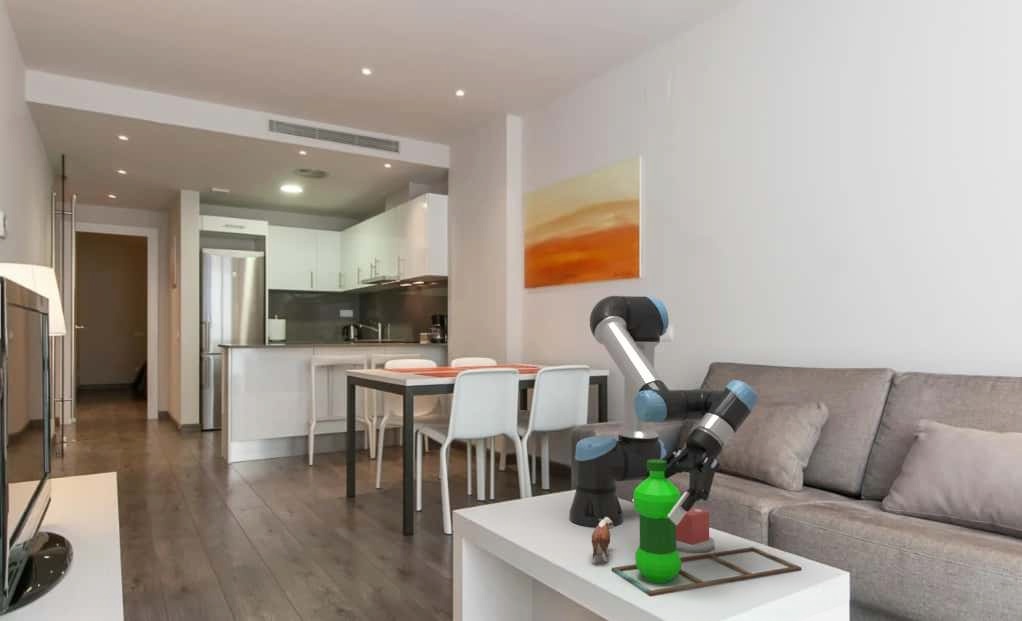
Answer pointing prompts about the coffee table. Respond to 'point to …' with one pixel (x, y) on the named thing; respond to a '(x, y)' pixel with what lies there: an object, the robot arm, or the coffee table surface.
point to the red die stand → (694, 532)
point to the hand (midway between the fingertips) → (653, 512)
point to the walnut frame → (701, 583)
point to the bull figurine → (601, 538)
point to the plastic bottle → (657, 525)
